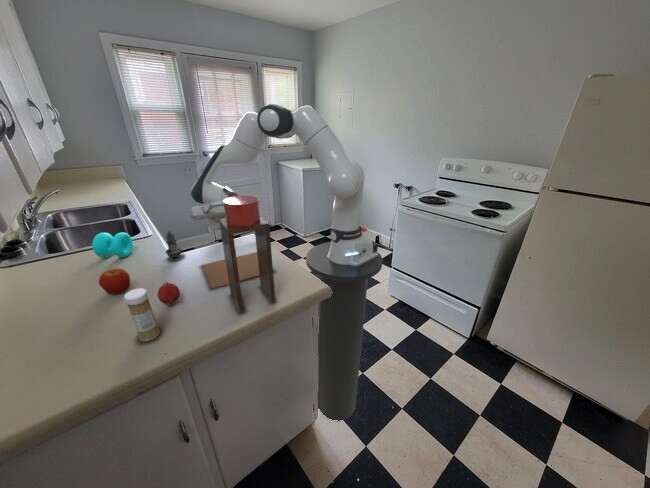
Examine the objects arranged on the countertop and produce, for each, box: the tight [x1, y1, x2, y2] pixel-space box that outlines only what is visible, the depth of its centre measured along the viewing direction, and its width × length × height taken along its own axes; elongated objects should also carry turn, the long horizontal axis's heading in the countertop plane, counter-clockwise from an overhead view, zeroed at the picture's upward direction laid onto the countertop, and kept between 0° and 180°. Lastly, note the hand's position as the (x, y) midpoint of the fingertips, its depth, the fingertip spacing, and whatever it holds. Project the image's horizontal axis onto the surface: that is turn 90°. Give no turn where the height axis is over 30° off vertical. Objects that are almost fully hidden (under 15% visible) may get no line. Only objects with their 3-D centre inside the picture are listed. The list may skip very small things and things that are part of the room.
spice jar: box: [123, 287, 161, 342], centre depth 67 cm, size 5×5×13 cm
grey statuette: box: [165, 230, 184, 262], centre depth 106 cm, size 6×6×12 cm
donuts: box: [91, 231, 134, 258], centre depth 107 cm, size 10×10×10 cm
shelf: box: [219, 215, 276, 314], centre depth 80 cm, size 11×10×26 cm
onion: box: [156, 281, 181, 306], centre depth 80 cm, size 6×6×8 cm
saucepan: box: [223, 186, 261, 227], centre depth 78 cm, size 9×22×6 cm, turn 32°
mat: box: [201, 252, 275, 290], centre depth 101 cm, size 22×18×1 cm
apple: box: [98, 268, 131, 295], centre depth 86 cm, size 8×8×8 cm
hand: (224, 203), depth 92 cm, fingers open, 8 cm apart
